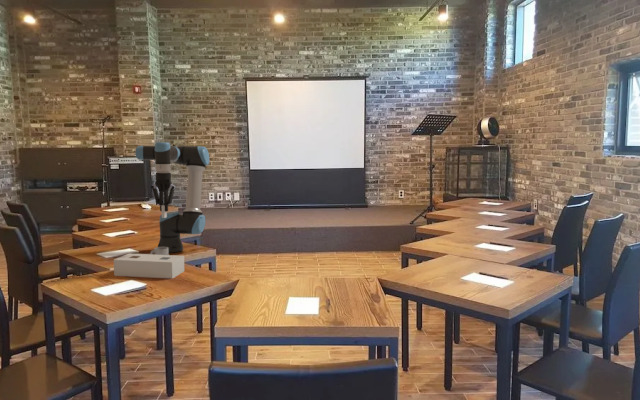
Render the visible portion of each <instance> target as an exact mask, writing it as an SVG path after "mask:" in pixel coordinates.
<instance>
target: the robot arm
mask: <svg viewBox="0 0 640 400" xmlns="http://www.w3.org/2000/svg"><path fill="white" fill-rule="evenodd" d="M134 152H135V158H136V159H137V160H140V161H141V160H142V161H154V164H155V165H154V167H155V168H154V170H155V172H156V173H155V183H154V184H153V185H150V188H151V189H152V192H153V196H154V200H155V203H156V204H157V205H159V211H160V212H161V214H160V215H159V241H158V244H157V247H168V251H169V254H172V253H179V252H183V251H184V244H183V242H182V239H181V235H199V234H200V235H201V234H202V233H203V231H204V229H205V226H206V216H205V215H204V212H203V211H202V210H201V204H202V203H201V202H202V187H203V174H204V171H205V170H206V167H207V166H208V165H209V164H210V153H209V151H208V149H207V147H205V146H201V145H190V146H189V145H188V146H187V145H180V146H179V145H178V146H174V145H171V144H170V142H166V141H165V142H164V141H163V142H162V141H155V143H154V145H137V146H136V148H135V151H134ZM171 164H174V165H175V164H176V165H182V166H185V168H186V169H187V170H188V172H187V188H186V200H185V209H184V210H183V211H182V214H181V213H180V212H179V211H173V212H172V211H171V212H169V205H171V204H172V203H173V197H174V194H175V190H176V188H177V186H176V185H174V184H173V183H172V173H171V171H172V169H171V167H172V165H171ZM169 189H170V190H169Z"/></svg>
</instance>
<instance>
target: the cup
mask: <svg viewBox="0 0 640 400" xmlns="http://www.w3.org/2000/svg"><path fill="white" fill-rule="evenodd" d="M149 254H154V255H170V253H169V251H168V247H158V246H157V247H154V248H153V249H152V250H151V251H150V253H149Z"/></svg>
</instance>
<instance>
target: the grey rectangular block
mask: <svg viewBox="0 0 640 400" xmlns="http://www.w3.org/2000/svg"><path fill="white" fill-rule="evenodd" d="M132 256H140V257H138V258H129V257H132ZM162 257H168V258H169V259H167V260H164V259H160V258H162ZM113 272H114V273H113V274H114V275H113V276H115V277H132V278H134V277H135V278H151V279H152V278H153V279H174V278H176V277H177V276H179V275H181V274H182V273H184V272H185V255H177V254H176V255H175V254H173V255H170V254H169V255H155V253H153V254H150V253H127V254H124V255H121V256H119V257H117V258H114V259H113Z"/></svg>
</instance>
